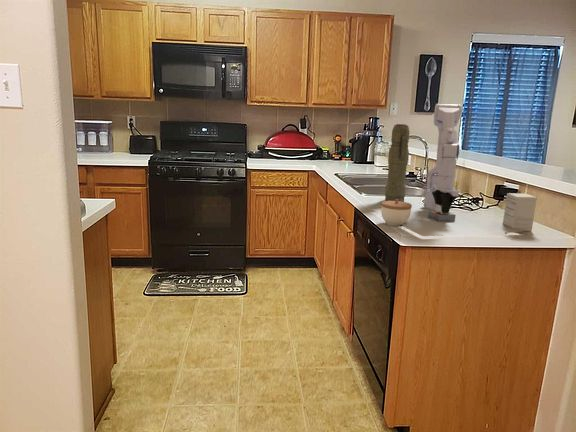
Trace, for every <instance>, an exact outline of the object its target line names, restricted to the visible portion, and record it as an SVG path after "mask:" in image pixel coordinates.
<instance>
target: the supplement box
mask: <svg viewBox="0 0 576 432" xmlns="http://www.w3.org/2000/svg"><path fill="white" fill-rule="evenodd" d="M537 199H538V197H537V196H534V195H533V194H532V195H531V194H528V193H517V192H516V193H515V192H514V193H511V192H509V193H508V192H507V193H506V199H505V205H504V206H505V207H504V213H503V220H502V224H504V225H505V226H507V227H510V228H512V229H517V230H520V231H523V232H532V230H533V223H534V218H535V212H536V205H537Z"/></svg>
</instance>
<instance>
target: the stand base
mask: <svg viewBox="0 0 576 432" xmlns="http://www.w3.org/2000/svg"><path fill="white" fill-rule="evenodd" d="M427 217H428V218H429V219H431V220H433V221H436V222H439V223H440V222H443V223H444V222H455V221H456V214H455V213H452V212H450V211H449V214H438V212H435V210H428V216H427Z"/></svg>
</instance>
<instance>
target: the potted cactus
mask: <svg viewBox="0 0 576 432" xmlns="http://www.w3.org/2000/svg"><path fill="white" fill-rule="evenodd" d="M391 132H392V133H391V140H390V142H391V144H390V147H389V151H388V158H387V159H388V160H387V164H388V171H387V183H386V185H385V191H384V192H385V193H384V195H385V197H384V198H385V199H384V201H395V200H396V199H398V201H401V202H405V197H406V188H407V187H406V177H407V176H406V175H407V174H406V173H407V166H408V164H409V155H410V150H409V142H410V139H409V138H410V126H409V125H408V124H403V123H396V124H395V125H394V126H393V128H392V131H391Z"/></svg>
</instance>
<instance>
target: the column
mask: <svg viewBox="0 0 576 432" xmlns="http://www.w3.org/2000/svg"><path fill="white" fill-rule="evenodd" d="M434 211H435V212H438V214H449V212H450V211H449V212H448V213H443V212H442V204H436V209H435V210H434Z"/></svg>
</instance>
